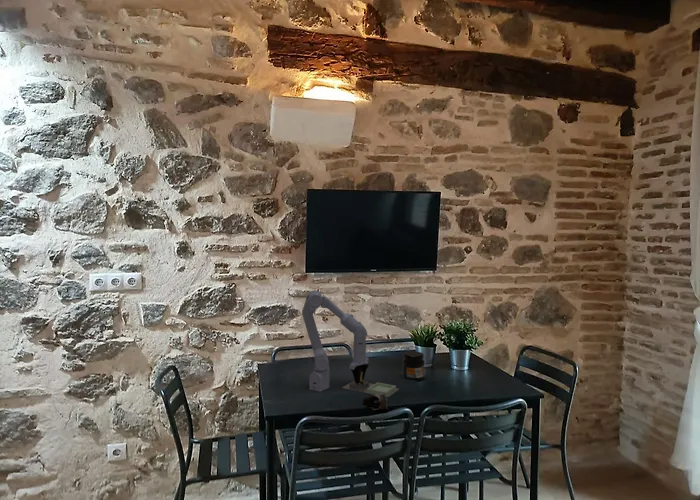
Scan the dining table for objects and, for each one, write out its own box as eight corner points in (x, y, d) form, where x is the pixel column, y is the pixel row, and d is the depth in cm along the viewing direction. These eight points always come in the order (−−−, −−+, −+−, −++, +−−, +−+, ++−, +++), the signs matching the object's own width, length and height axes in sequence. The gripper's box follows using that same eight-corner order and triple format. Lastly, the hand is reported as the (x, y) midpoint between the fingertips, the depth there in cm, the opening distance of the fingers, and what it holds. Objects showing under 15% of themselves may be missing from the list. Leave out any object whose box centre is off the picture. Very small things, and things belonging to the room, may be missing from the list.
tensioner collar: (362, 389, 226) (362, 386, 226) (349, 386, 230) (349, 383, 229) (369, 384, 232) (369, 381, 232) (356, 382, 235) (356, 379, 235)
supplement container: (422, 382, 238) (422, 357, 237) (400, 380, 241) (400, 355, 241) (426, 376, 248) (426, 352, 247) (405, 373, 251) (405, 350, 251)
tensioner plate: (388, 398, 217) (388, 397, 217) (341, 389, 228) (341, 387, 228) (399, 390, 227) (399, 388, 227) (354, 382, 238) (354, 380, 238)
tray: (386, 395, 218) (386, 392, 218) (367, 392, 223) (367, 388, 222) (395, 388, 227) (395, 385, 227) (377, 385, 231) (377, 382, 231)
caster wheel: (365, 408, 212) (388, 405, 212) (363, 413, 201) (388, 410, 200) (362, 392, 213) (386, 389, 213) (361, 396, 202) (386, 392, 202)
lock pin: (360, 386, 228) (360, 373, 228) (354, 385, 230) (354, 371, 230) (364, 384, 231) (364, 371, 231) (357, 383, 233) (357, 369, 233)
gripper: (359, 356, 221) (359, 387, 222) (374, 349, 234) (374, 378, 235) (345, 354, 225) (345, 384, 226) (361, 347, 238) (360, 375, 238)
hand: (359, 381), depth 231 cm, fingers closed on lock pin, 3 cm apart
